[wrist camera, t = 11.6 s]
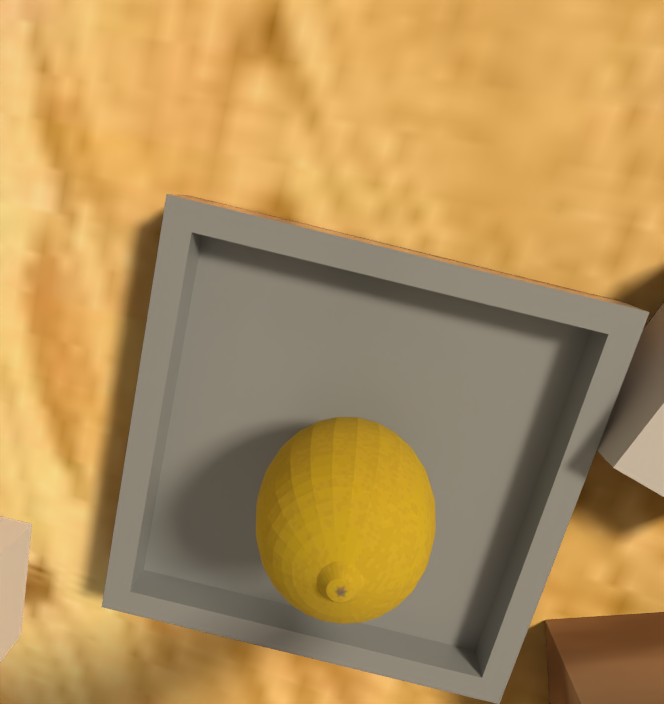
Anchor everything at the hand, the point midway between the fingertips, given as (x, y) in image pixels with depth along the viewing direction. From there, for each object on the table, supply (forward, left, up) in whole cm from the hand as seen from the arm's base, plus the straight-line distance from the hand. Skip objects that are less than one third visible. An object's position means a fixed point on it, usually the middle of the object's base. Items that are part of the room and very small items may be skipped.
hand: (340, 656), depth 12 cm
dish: (0, 0, -12) cm, 12 cm away
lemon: (0, 0, -11) cm, 11 cm away
